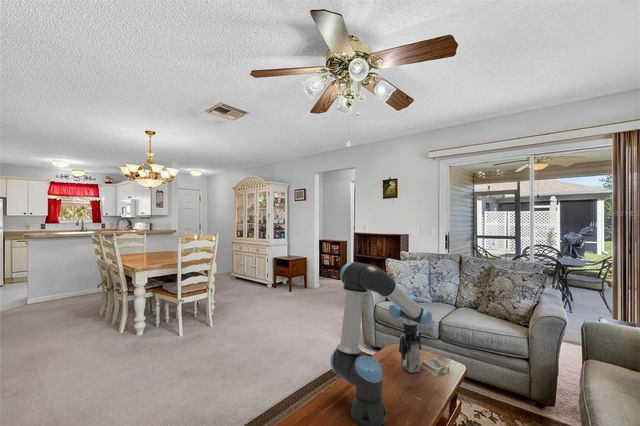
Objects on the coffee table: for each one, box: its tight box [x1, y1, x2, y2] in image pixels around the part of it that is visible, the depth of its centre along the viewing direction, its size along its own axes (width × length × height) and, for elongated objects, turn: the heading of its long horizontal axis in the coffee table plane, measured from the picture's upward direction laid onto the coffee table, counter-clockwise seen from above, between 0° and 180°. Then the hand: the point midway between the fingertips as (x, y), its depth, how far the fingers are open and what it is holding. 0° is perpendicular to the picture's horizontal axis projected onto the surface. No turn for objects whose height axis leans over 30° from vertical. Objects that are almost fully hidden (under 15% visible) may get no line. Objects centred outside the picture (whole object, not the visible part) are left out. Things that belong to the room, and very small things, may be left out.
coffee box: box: [400, 337, 421, 374], centre depth 167 cm, size 9×6×16 cm
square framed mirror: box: [422, 357, 450, 378], centre depth 165 cm, size 10×10×4 cm
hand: (410, 363), depth 166 cm, fingers closed on coffee box, 7 cm apart
